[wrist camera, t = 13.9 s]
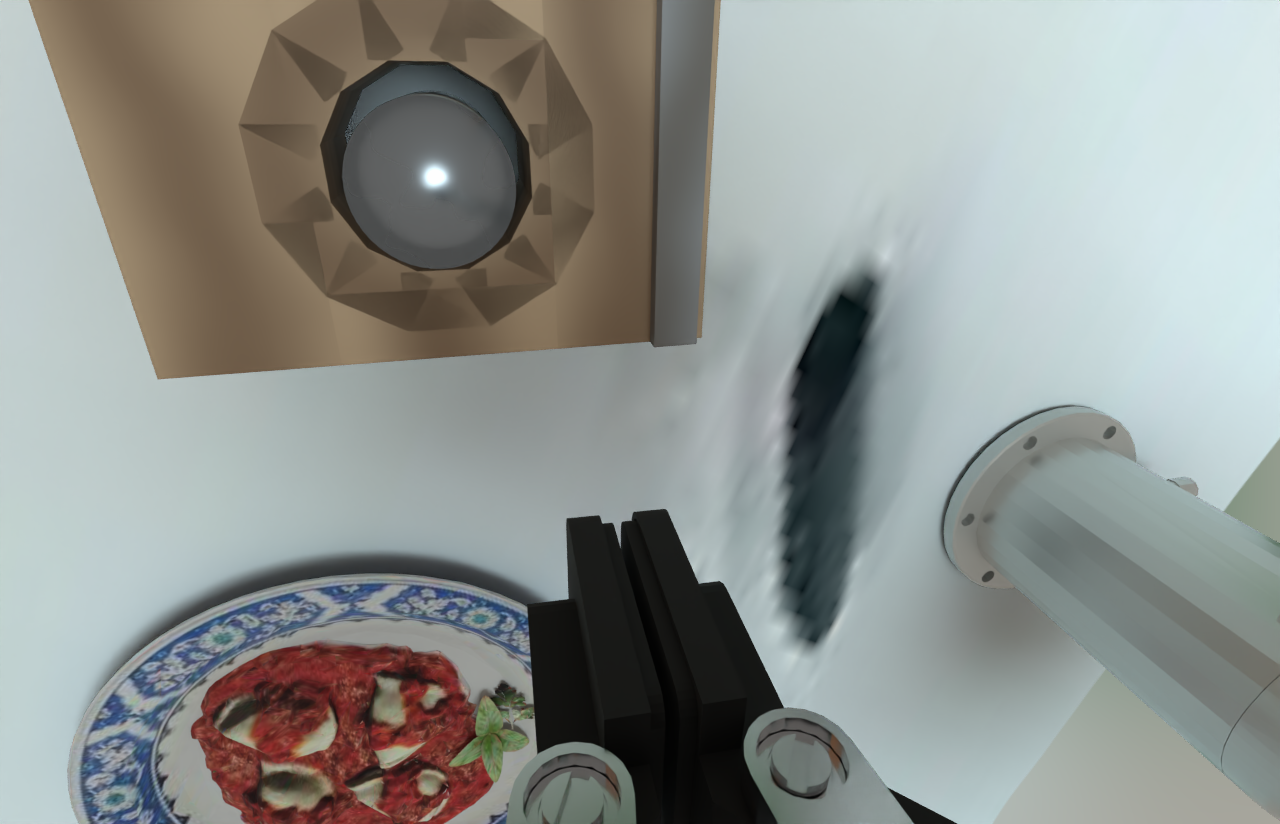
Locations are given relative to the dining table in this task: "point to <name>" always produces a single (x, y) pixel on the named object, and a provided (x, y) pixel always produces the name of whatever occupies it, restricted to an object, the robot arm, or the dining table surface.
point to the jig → (313, 186)
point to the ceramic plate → (317, 710)
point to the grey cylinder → (429, 180)
